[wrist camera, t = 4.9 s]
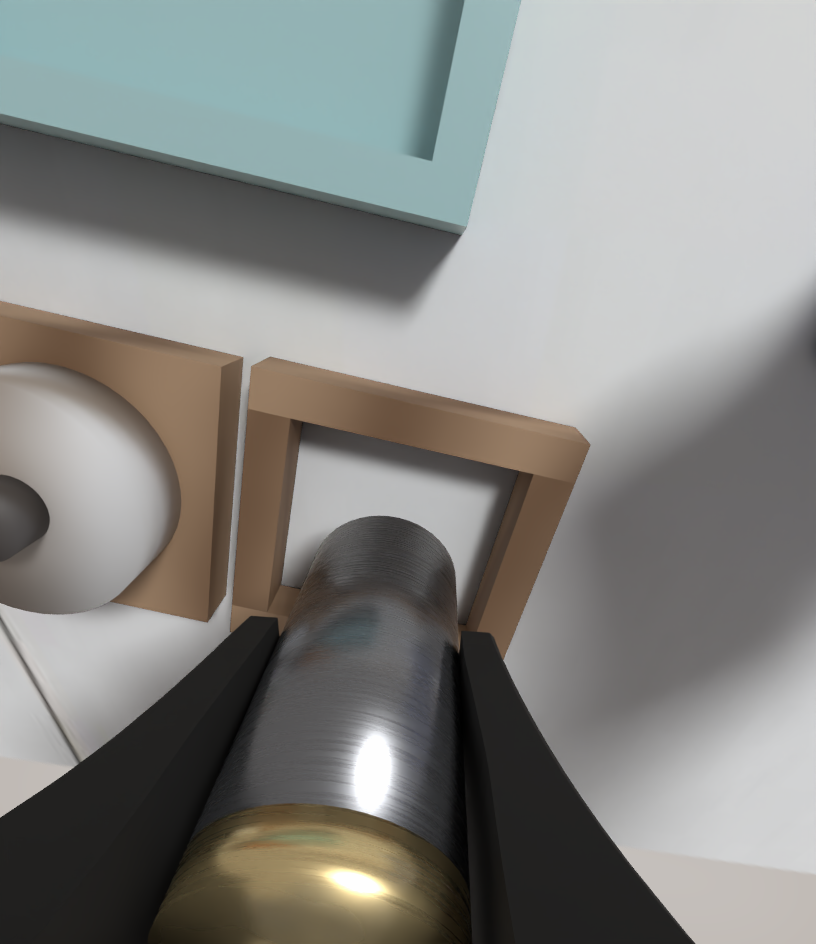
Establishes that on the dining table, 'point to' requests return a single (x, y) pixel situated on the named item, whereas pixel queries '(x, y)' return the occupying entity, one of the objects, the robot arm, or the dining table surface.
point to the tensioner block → (218, 472)
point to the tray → (273, 91)
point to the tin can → (343, 766)
